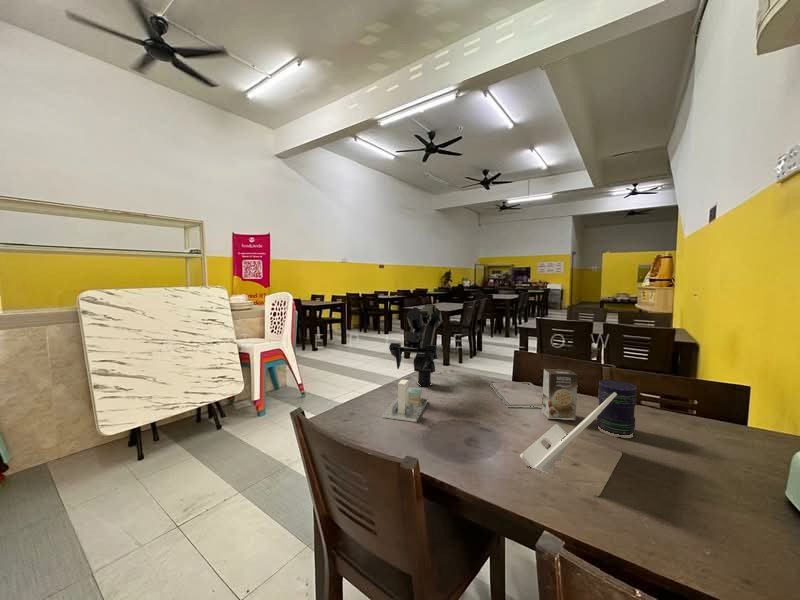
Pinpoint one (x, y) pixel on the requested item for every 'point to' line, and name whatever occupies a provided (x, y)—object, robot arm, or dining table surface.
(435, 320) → the robot arm
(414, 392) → the offcut top
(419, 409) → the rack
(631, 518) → the dining table surface
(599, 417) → the storage jar
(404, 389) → the cream rectangular block
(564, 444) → the tablet stand
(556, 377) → the cookie box
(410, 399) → the block
